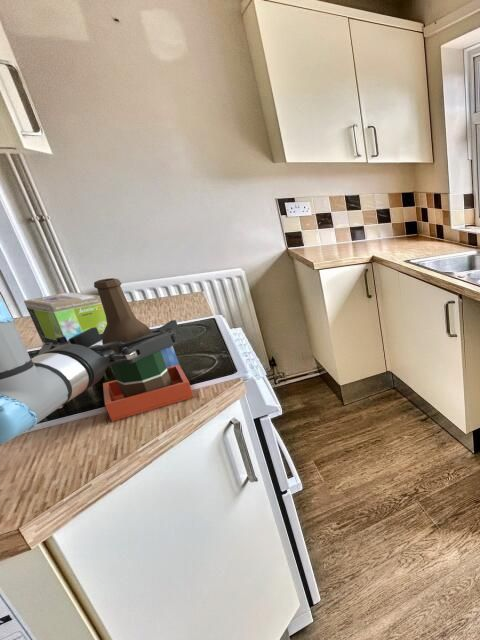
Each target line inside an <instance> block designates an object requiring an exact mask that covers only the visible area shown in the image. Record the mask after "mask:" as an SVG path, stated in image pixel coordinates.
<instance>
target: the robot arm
mask: <svg viewBox="0 0 480 640" xmlns="http://www.w3.org/2000/svg"><path fill="white" fill-rule="evenodd" d="M155 330H156V329H155ZM155 332H156V333H153V334H149V335H146V336H142V337H139V338H135V339H132V340H128V341H125V342H119V341H114V342H111V343H107V344H103V345H94V344H96V343H98V342H99V341H101V337H100V335H99V332H98V330H97V327H95V328H90V329H88V330H86V331H84V332H82V333H80V334H78V335H76V336H74V337H72V338H70V339H69V340H68V341H67V339H66V337H65V336H63V337H58V338H56V340H57V342H58V344H57V345H53V343H46V344H44V345H43V344H42V346H41V348H40V350H39V351H38V353H37V355H36V356H34V357H32V358H31V356H30V355H29V353H28V350H27V348H26V346H25V343H24V341H23V339H22V337H21V334H20V332H19V330H18V328H17V326H16V323H15V318H14V317H13V316H11V313H10V312H9V310H8V309H7V307H6V305H5V302H3V300H2V298H1V297H0V446H1V445H4V444H6V443H8V442H10V441H11V440H14V438H17V437H18V436H20V435H21V434H23V433H26V432H28V431H30V430H32V429H33V428H34V427H35V426H36V425H37V424H38V423H39V422H41V421H42V420H44V419H45V418H46V417H49V415H51V414H52V413H54V412H55V411H56V410H58V409H62V408H63V407H64V405H66V404H67V403H69V402H70V401H72V400H73V399H75V398H76V397H78V396H80V394H82V393H83V392H86V391H87V390H88V389H90V388H92V387H93V386H95V384H97V383H99V382H100V381H101V380H102V379H103V377H104V375H105V373H106V371H107V368H109V367H110V368H111V365H112V364H115V363H118V362H121V361H126V364H132V363H134V362H136V361H138V360H139V359H141V358H144V357H146V356H149V355H151V354H154V353H156V352H159V351H161V350H164V349H166V348H170V347H171V346H173V347H174V346H176V345H179V344H180V342H179V339H178V337H177V335H179V334H180V333H181V331H180V329H179V326H178V322H177V320H176V319H172V320H170V321H168V322H167V323H165V324H164V325H162V326H160V327H159V328H157V330H156V331H155ZM92 345H94V346H92ZM90 346H91V347H90ZM114 346H115V347H116V350H117V352H118V353H116V352H115V351H114V350H113V349H112V348H111V347H114Z"/></svg>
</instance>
